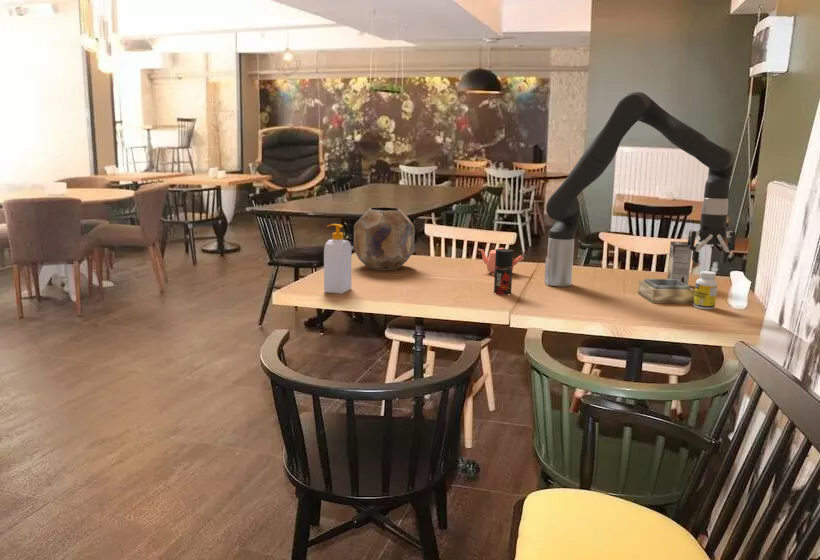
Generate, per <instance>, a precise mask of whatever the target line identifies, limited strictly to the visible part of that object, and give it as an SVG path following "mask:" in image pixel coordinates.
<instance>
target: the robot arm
mask: <svg viewBox="0 0 820 560" xmlns="http://www.w3.org/2000/svg"><path fill="white" fill-rule="evenodd" d="M637 122H641V123H643V124H646V125H648V126H650V127H652V128H653V129H655V130H657V131H658V132H659V133H660V134H661V135H662V136H664V137H665V138H666V139H667V140H668V142H670V143H671V144H672V145H674V146H676V147H677V148H678V149H680V150H681V151H683V152H685V153H687V154H688V155H690V156H692V157H694V158H695V159H696V160H698V161H699V162H700V163H701V164H703V165H704V166H706V167H707V168H708V173H707V175H708V176H707V180H706V182H705V185H704V193H703V200H702V204H701V205H702V206H701V213H700V222H699V230H698V231H697V230H692V229H690V230H689V231H688V238H687V242H688V243H687V248H688V249H691V250H692V254H691V261H692V262H693V263H694V264H699V261H700V250H701V249H702V248H704V247H705V246H706V245H708V246H710V245H714V246H718V247H719V248H720V249H721V251H720V257H719V263H720V265H721V264H722V265H725V264H726V263H727V261H728V253H729V252H731V251H734V250H736V235H737V234H736V232H735V231H734V230H728V231H726V228H727V222H728V211H729V196H730V195H729V193H730V181H731V177H732V174H733V167H734V160H735V159H734V155H733V152H732V151H731V150H730V149H728V148H725V147H722V146H720V145H718V144H716V143H715V142H713V141H711V140H709V138H707V136H705V134H703V133H701V132H699V131H697V130H696V129H694V128H693V127H691V126H690V125H688V124H686V123H684V122H683V121H681V120H679V119H678V118H676V117H675V116H673V115H671V114H670V113H669V112H667V111H666V109H665V110H664V109H663V108H662V107H661V106H660V105H659V104H658V103H656V102H655V100H653V99H652V98H651V97H650V96H649V95H647V94H646V93H645V92H641V91H634V92H629V93H627V94H625V95H623V96H622V97H621V98H619V101H618V102H617V104H616V106H615V108H614V109H613V111H612V113H611V115H610V116H609V118H608V119H607V122H606V123H605V125H604V126H603V127H602V129H601V130H600V131H599V132H598V133H597V135H596V136H595V137H594V138H593V140H592V142H591V143H590V144H589V145H588V147H586V149H585V151H584V152H583V154H582V155H581V157H580V158H579V160H578V161H577V163H576V164H575V165H574V167H573V168H572V170H571V171H570V172H569V174H568V176H567V177H566V178H565V180H564V181H563V182H562V184H561V185H560V186H559V187H558V188H557V189H556V190H555V191H554V192H553V193H552V194H551V195H550V197H549V198H548V200H547V202H546V204H545V205H546V206H545V211H546V215H547V216H548V217H549V218H550V219H552V220H555V221H554V224H553V226H552V227H551V228H550V229H549V231H548V242H547V243H548V244H547V256H545V266H544V267H545V269H544V283H545V284H546V285H547V286H553V287H570V286H572V279H573V264H574V263H573V262H574V250H575V249H574V248H575V247H574V246H575V238H576V237H575V235H576V233H577V231H578V227H579V218H580V210H581V209H580V201H579V199H578V196H579V195H580V194H581V193H582V192H583V191H584V190H585V189H586V188H587V187H589V186H590V185H591V184H593V183H594V182H595V181H596V180H598V179H599V178H600V177H601V176H602V174H603V173H604V172H605V171H606V169H607V168H608V167H609V165H610V164H611V163H612V162H613V160H614V158H615V155H616V154H617V152H618V150H619V147H620V144H621V142H622V140H623V139H624V137H625V136H626V134H627V133H628V132H629V131H630V130H631V128H633V126H634V125H635V124H636V123H637ZM698 237H699V239H698V240H697V241H696V238H698ZM725 237H726V238H727V243H726V242H725V240H724V239H725Z"/></svg>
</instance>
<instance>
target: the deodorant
mask: <svg viewBox="0 0 820 560" xmlns="http://www.w3.org/2000/svg"><path fill="white" fill-rule="evenodd" d="M495 250H496V257H495V275H494V283H493V285H494V286H493V294H494V293H496V294H495V295H497V294H500V295H499V296H509V295H508V294H510V295H511V294H512V288H513V287H512V285H513V270H512V267H513V261H514V250H513V249H510V248H509V249H508V248H504V249H498V248H497V249H495ZM513 268H514V267H513Z"/></svg>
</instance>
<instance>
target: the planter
mask: <svg viewBox="0 0 820 560" xmlns="http://www.w3.org/2000/svg"><path fill="white" fill-rule="evenodd" d="M353 251H354V253H355V256H356V257H357V258H358V260H359V261H360V262H361V263H362V264H363V265H365V267H366V268H367V269H369V270H375V271H383V272H384V271H385V272H386V271H393V270H395V271H396V270H399V268H401V267H402V266H403V265H404V264H406V263H407V261H408V260H410V257H411V256H412V255H413V254H414V253H415V225H414V224H413V222H412V221H411V220H410V218H409V217H408V216H407V215H406V214H405V213H404V212H403V211H402V210H401V209H400V208H398V207H386V206H385V207H370V208H368V210H367V211H366V212H365V213H364V214H363V215H362V216H361V217H360V218H359V219H358V220H357V221H356V222H355V224H354V225H353Z"/></svg>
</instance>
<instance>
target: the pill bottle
mask: <svg viewBox="0 0 820 560" xmlns="http://www.w3.org/2000/svg"><path fill="white" fill-rule="evenodd" d="M716 275H717V272H715V271H711V270H710V271H709V270H701V271H700V272H699V278H698V279H696V281H695V285H694V286H695V287H694V290H695V294H694V304H693V307H695V308H697V309H699V310H700V309H701V310H713V309H715V307H716V301H717V293H718V284H719V283H718V281H717V280H716V279H715V278H716Z"/></svg>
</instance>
